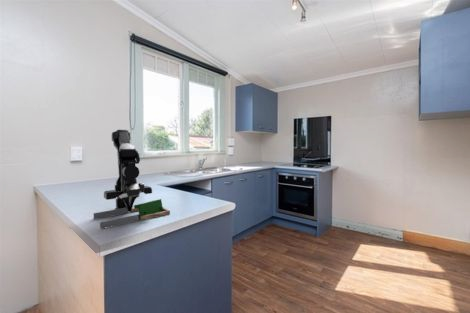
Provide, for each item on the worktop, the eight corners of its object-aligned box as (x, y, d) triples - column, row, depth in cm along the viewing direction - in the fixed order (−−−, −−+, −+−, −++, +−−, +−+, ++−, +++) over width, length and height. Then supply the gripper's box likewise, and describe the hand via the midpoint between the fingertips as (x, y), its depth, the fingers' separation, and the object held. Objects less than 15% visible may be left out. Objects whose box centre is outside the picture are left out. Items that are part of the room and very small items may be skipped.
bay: (157, 206, 116) (157, 204, 116) (169, 213, 104) (169, 210, 104) (130, 211, 107) (130, 208, 107) (140, 220, 95) (140, 216, 95)
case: (128, 212, 107) (127, 207, 107) (138, 220, 95) (138, 214, 95) (93, 218, 98) (93, 213, 98) (100, 229, 86) (100, 222, 86)
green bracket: (153, 219, 109) (156, 201, 113) (161, 218, 106) (164, 199, 110) (130, 216, 101) (134, 196, 104) (137, 215, 97) (142, 194, 101)
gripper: (109, 181, 87) (110, 220, 88) (156, 176, 99) (157, 211, 100) (102, 177, 95) (104, 214, 96) (147, 173, 107) (148, 206, 108)
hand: (129, 211), depth 100 cm, fingers closed
